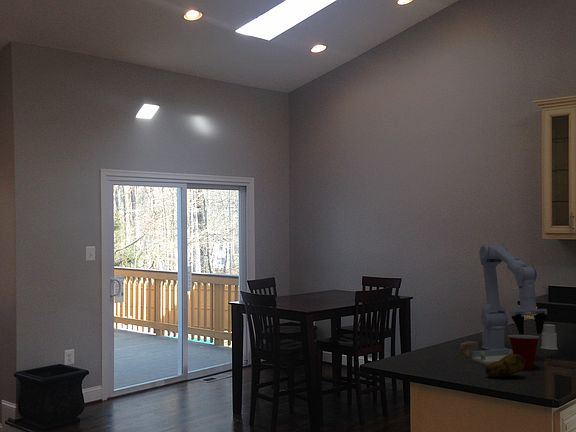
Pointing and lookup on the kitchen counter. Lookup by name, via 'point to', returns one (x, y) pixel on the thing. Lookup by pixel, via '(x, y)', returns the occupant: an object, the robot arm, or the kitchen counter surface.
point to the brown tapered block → (468, 348)
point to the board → (488, 359)
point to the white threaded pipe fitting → (549, 337)
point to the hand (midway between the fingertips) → (530, 334)
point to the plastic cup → (525, 348)
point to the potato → (506, 366)
